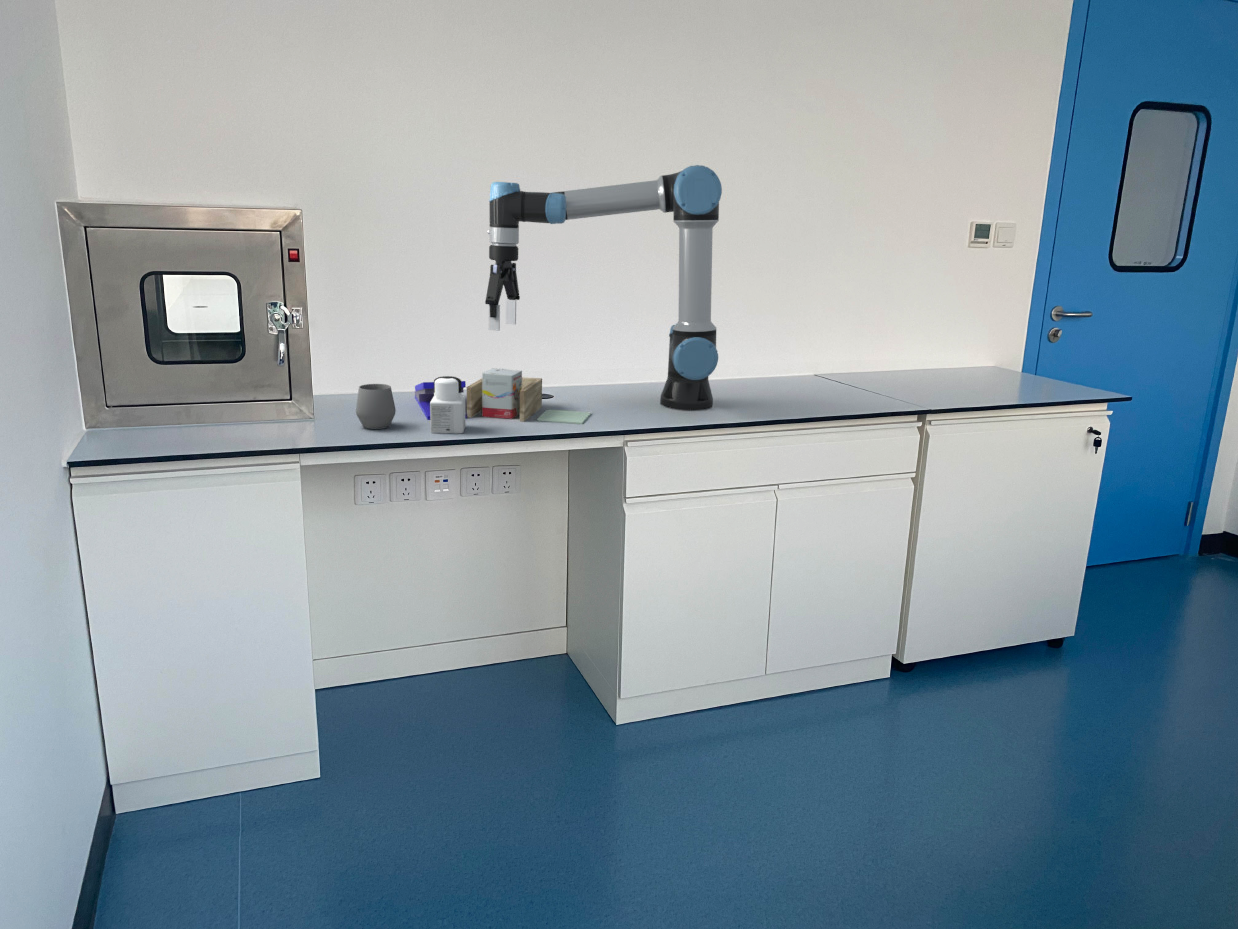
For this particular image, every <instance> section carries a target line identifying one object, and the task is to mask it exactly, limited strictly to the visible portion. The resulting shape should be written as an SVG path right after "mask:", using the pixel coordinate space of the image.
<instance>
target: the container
mask: <svg viewBox="0 0 1238 929" xmlns="http://www.w3.org/2000/svg"><path fill="white" fill-rule="evenodd" d="M461 381H462V379H460V378H458V377H456V376H449V375H447V376H446V375H443V376H438V377H436V378H435V379H434V380H433V382H434V397H433V399H432V400H431V402H430V420H429V421H430V433H431V434H463V433H464V430H465V428H466V425H467V424H466V419H465V414H466V396H465V395H462V393H461Z"/></svg>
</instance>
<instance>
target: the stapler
mask: <svg viewBox="0 0 1238 929" xmlns="http://www.w3.org/2000/svg"><path fill="white" fill-rule="evenodd" d="M464 388H467V386H466V380H464V381H463V380H461V394H462V393H464V391H465V389H464ZM433 397H434V381H425V382H420V383H418V384H416V385H415V386H414V399H415V400H416V402H417V404H418V406H419V408H420V410H421V411H422V413H423V415H424V416H425V418H426V420H427V421H430V402H431V400H432V399H433ZM466 419H467V413H465V420H466Z"/></svg>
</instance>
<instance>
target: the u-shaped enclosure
mask: <svg viewBox="0 0 1238 929" xmlns="http://www.w3.org/2000/svg"><path fill="white" fill-rule="evenodd" d="M541 408H543V378H539V377H524V376H522V390H520V414H519V422H526V421H527V420H528V419H529V418H531V417H532V416H533V415H534V414H535V413H536V412H537V411H539V410H540V409H541ZM480 412H482V378H480V379H478V380H477V381H475V382H473V383H471V384H470V385H467V386H466V418H469V419H471V418H473V417H475V416H476V415H477V414H479V413H480Z"/></svg>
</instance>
